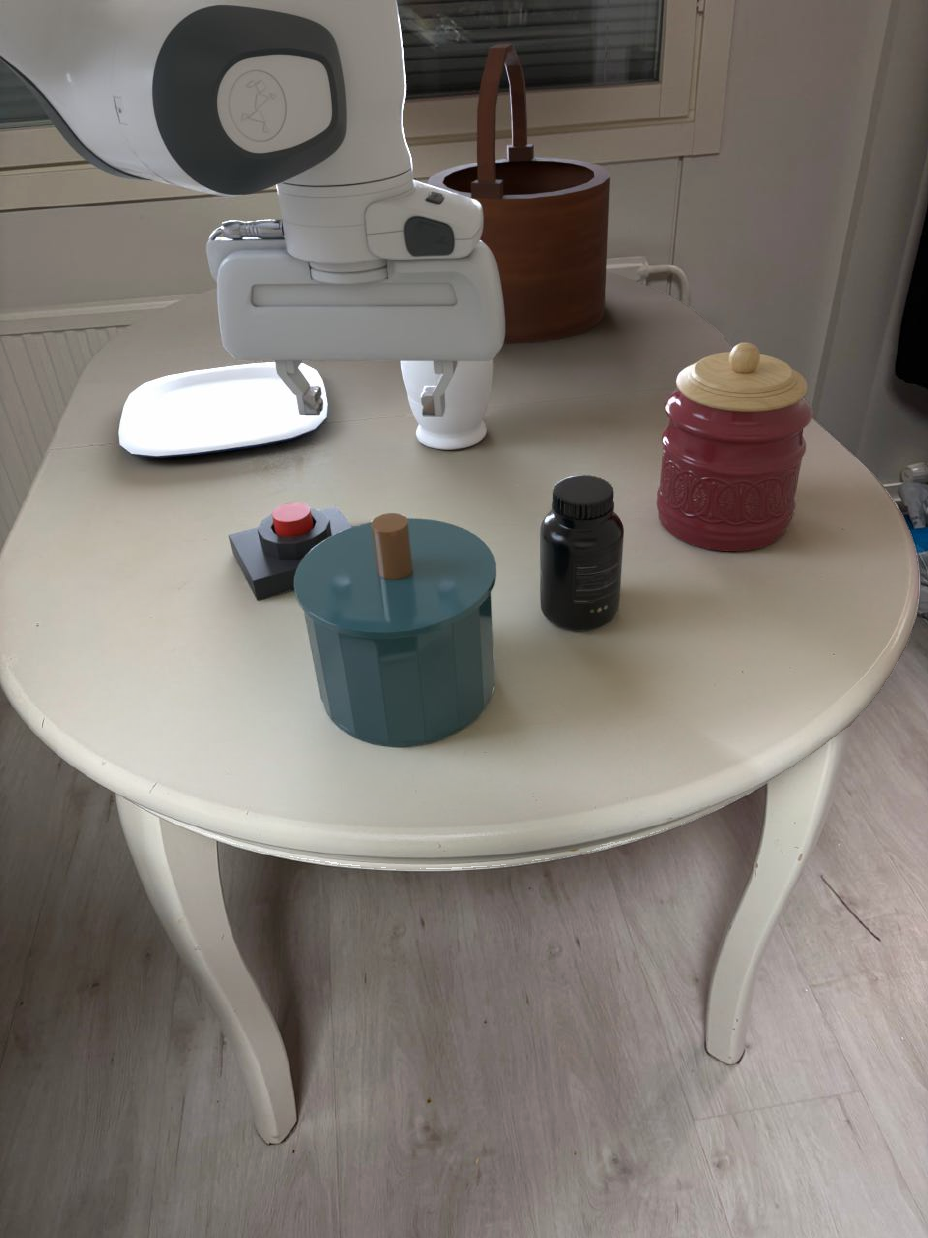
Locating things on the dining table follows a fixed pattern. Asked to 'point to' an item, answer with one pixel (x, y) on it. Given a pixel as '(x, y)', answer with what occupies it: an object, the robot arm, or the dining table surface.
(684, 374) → the kitchen canister
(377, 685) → the storage jar
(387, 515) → the jar lid
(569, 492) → the supplement bottle
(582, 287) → the wooden bucket
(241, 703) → the dining table surface
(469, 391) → the jar
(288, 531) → the release button
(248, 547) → the box
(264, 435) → the plate
